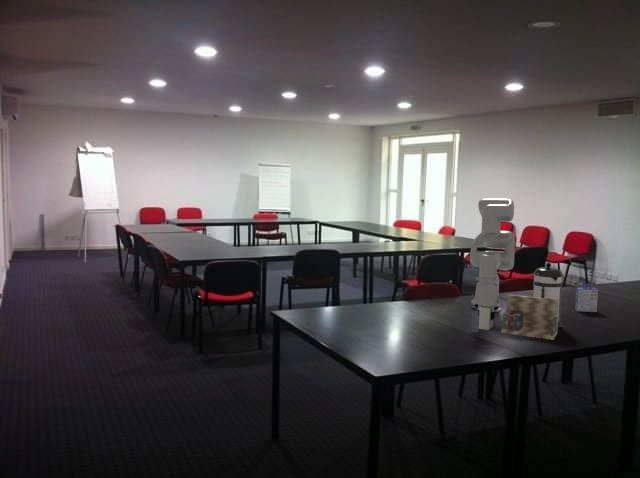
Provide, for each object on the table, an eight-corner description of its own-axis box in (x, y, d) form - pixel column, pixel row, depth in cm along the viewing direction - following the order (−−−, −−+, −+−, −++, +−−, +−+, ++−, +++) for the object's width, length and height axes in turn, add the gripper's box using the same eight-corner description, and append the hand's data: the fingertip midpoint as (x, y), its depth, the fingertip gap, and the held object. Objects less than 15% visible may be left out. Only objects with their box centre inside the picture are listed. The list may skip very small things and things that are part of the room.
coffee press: (568, 324, 261) (571, 262, 258) (555, 330, 250) (558, 266, 246) (532, 317, 273) (535, 258, 270) (518, 323, 262) (521, 262, 259)
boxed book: (478, 328, 252) (479, 307, 251) (483, 324, 258) (483, 304, 257) (488, 330, 249) (489, 308, 248) (492, 326, 256) (493, 305, 255)
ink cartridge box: (594, 310, 290) (595, 283, 289) (597, 312, 285) (598, 285, 284) (574, 309, 292) (575, 282, 291) (577, 311, 287) (578, 284, 285)
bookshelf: (501, 332, 245) (502, 299, 244) (506, 326, 256) (508, 294, 254) (553, 340, 234) (555, 304, 233) (557, 333, 244) (558, 299, 243)
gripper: (467, 280, 253) (466, 318, 255) (504, 283, 244) (503, 323, 246) (471, 277, 259) (470, 314, 261) (508, 281, 250) (506, 319, 252)
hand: (486, 318), depth 253 cm, fingers closed on boxed book, 4 cm apart
